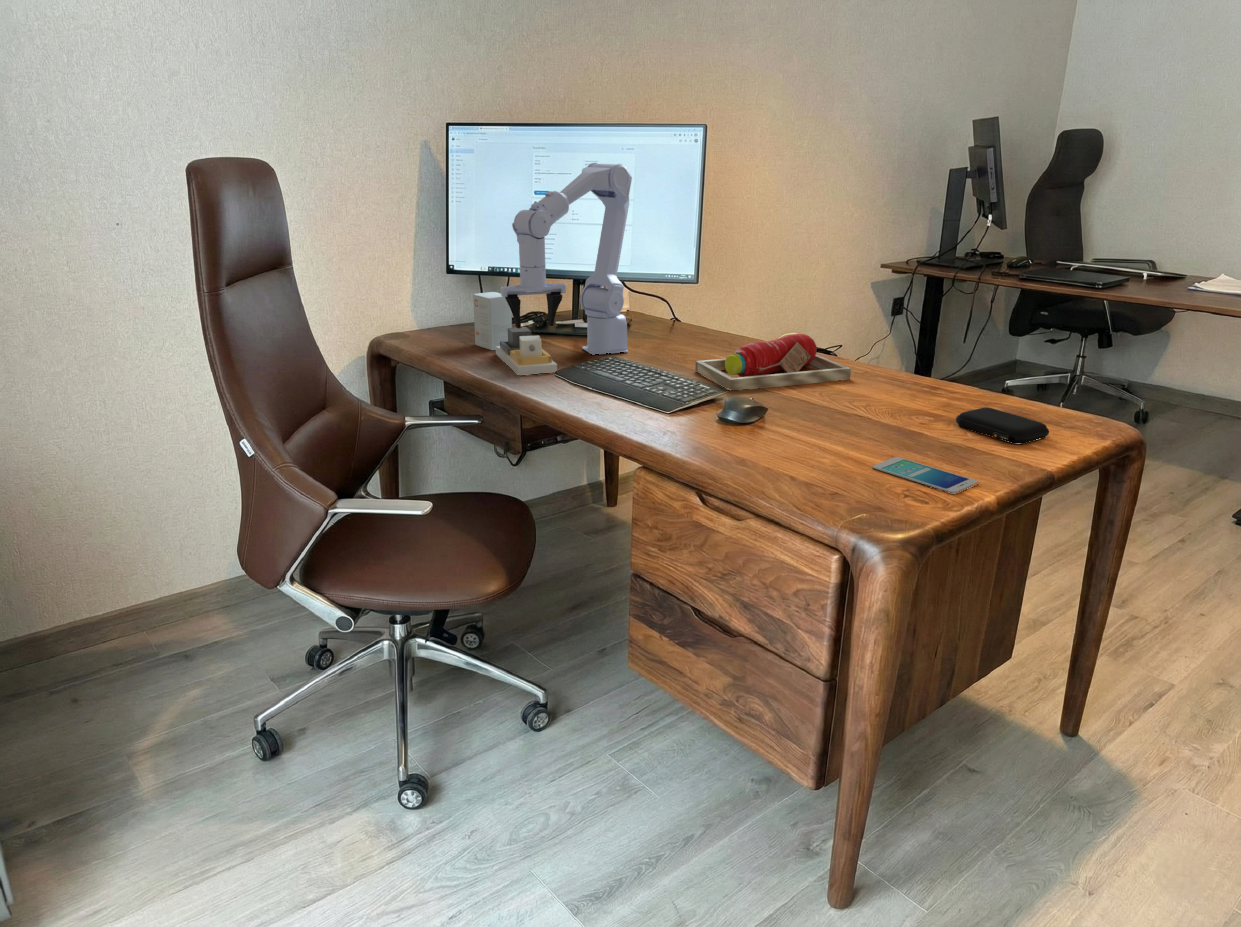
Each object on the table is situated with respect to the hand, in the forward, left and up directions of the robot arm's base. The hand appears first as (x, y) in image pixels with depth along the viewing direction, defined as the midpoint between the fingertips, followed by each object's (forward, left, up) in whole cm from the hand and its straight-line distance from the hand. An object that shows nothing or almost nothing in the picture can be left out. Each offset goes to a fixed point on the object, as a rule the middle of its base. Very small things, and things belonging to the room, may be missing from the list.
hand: (534, 326), depth 207 cm
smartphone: (-40, +89, -10) cm, 98 cm away
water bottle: (-48, +25, -10) cm, 55 cm away
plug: (+2, +2, -7) cm, 8 cm away
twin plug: (+2, -9, -7) cm, 11 cm away
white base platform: (+2, -4, -9) cm, 10 cm away
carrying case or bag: (-67, +75, -10) cm, 101 cm away
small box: (+5, -24, -10) cm, 26 cm away
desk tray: (-47, +25, -9) cm, 55 cm away
